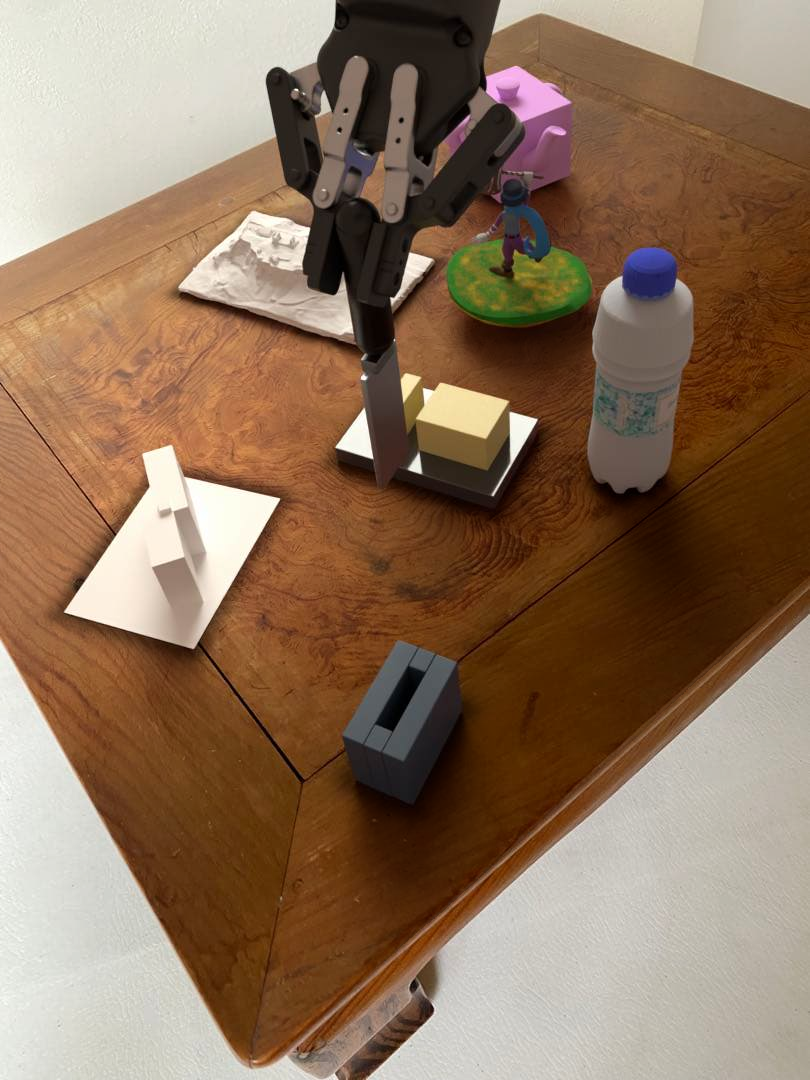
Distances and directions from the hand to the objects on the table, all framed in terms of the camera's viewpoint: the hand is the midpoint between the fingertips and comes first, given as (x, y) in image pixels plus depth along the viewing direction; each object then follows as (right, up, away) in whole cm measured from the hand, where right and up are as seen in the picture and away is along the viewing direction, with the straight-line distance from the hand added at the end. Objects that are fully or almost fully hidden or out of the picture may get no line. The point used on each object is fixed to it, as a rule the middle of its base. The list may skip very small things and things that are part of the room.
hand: (346, 296), depth 49 cm
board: (+6, -4, +32) cm, 33 cm away
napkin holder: (-15, -13, +28) cm, 34 cm away
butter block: (+8, -4, +30) cm, 31 cm away
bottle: (+20, -7, +29) cm, 36 cm away
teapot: (+14, +26, +56) cm, 63 cm away
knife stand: (+3, -25, +15) cm, 30 cm away
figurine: (+13, +9, +43) cm, 46 cm away
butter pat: (+3, -3, +32) cm, 32 cm away
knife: (+2, -8, +13) cm, 15 cm away
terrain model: (-7, +14, +48) cm, 51 cm away
